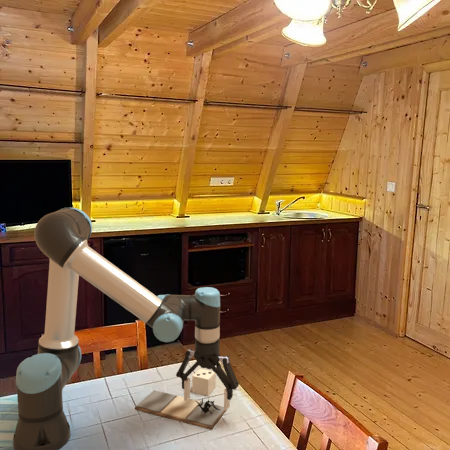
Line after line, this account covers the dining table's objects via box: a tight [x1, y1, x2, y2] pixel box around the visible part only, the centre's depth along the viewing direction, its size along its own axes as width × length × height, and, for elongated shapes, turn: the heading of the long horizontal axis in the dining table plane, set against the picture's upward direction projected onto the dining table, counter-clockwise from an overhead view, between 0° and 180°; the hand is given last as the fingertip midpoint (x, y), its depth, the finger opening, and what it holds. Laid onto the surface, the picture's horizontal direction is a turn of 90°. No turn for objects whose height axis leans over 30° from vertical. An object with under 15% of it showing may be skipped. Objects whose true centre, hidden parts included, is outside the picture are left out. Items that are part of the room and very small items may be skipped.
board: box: [134, 389, 228, 430], centre depth 150 cm, size 27×12×1 cm, turn 67°
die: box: [191, 368, 217, 397], centre depth 162 cm, size 6×6×6 cm
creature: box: [196, 394, 220, 414], centre depth 148 cm, size 8×5×8 cm
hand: (206, 403), depth 146 cm, fingers open, 13 cm apart
